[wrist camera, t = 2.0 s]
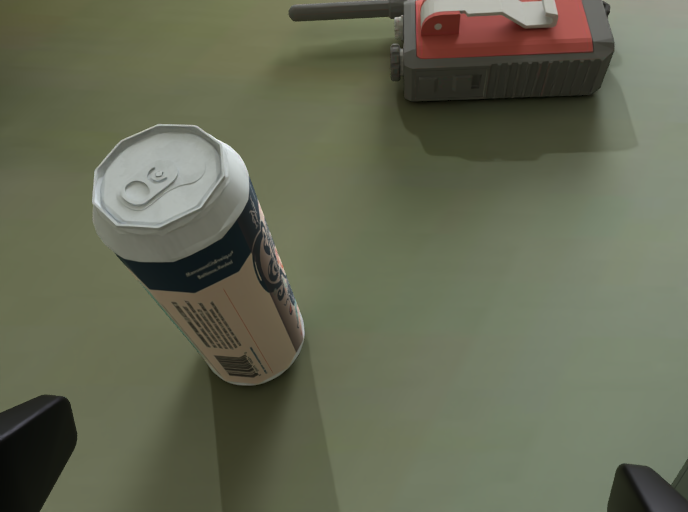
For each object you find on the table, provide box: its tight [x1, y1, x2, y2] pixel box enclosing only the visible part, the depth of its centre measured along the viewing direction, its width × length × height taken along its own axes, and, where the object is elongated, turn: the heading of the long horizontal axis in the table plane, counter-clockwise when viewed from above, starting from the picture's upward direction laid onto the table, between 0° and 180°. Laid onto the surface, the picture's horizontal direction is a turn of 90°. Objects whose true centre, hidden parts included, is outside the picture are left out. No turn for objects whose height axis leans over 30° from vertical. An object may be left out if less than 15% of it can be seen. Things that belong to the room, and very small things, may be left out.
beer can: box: [92, 124, 305, 386], centre depth 21 cm, size 5×5×12 cm
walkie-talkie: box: [289, 0, 614, 101], centre depth 33 cm, size 9×4×20 cm
